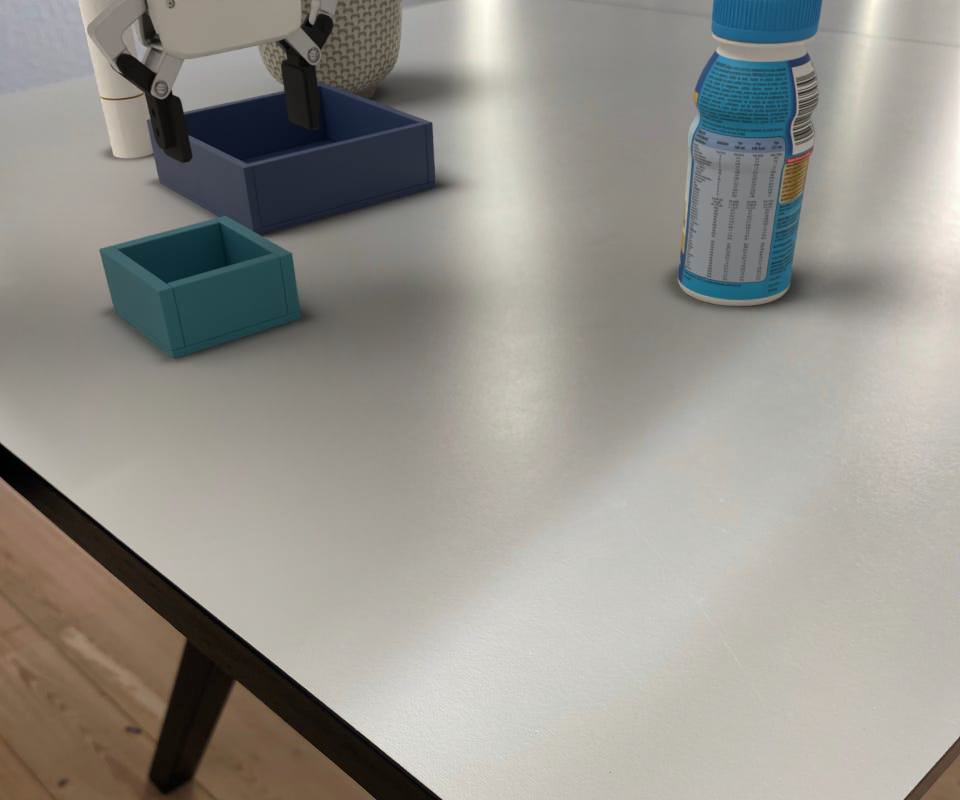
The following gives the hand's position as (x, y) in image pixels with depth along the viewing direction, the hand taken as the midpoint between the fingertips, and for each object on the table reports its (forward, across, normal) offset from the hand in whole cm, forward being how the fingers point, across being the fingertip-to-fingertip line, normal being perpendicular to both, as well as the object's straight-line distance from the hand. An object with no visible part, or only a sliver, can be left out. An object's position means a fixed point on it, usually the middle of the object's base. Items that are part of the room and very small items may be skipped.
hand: (243, 141), depth 76 cm
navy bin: (+11, -14, -21) cm, 28 cm away
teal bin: (+11, +5, 0) cm, 12 cm away
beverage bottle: (+12, -27, +21) cm, 36 cm away
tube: (+11, -7, -41) cm, 43 cm away
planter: (+12, -33, -45) cm, 57 cm away
